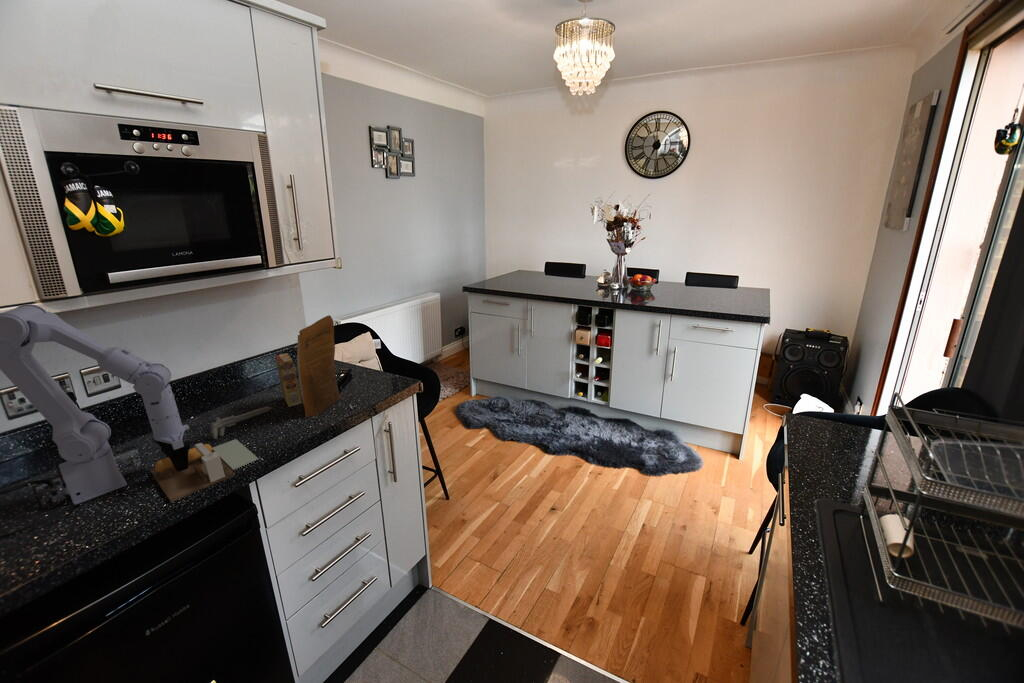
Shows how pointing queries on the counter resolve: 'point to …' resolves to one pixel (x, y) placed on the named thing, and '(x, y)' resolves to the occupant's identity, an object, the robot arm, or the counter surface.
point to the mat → (234, 454)
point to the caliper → (232, 421)
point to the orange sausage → (192, 456)
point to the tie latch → (211, 463)
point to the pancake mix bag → (317, 366)
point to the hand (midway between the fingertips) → (178, 464)
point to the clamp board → (186, 479)
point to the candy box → (288, 379)
